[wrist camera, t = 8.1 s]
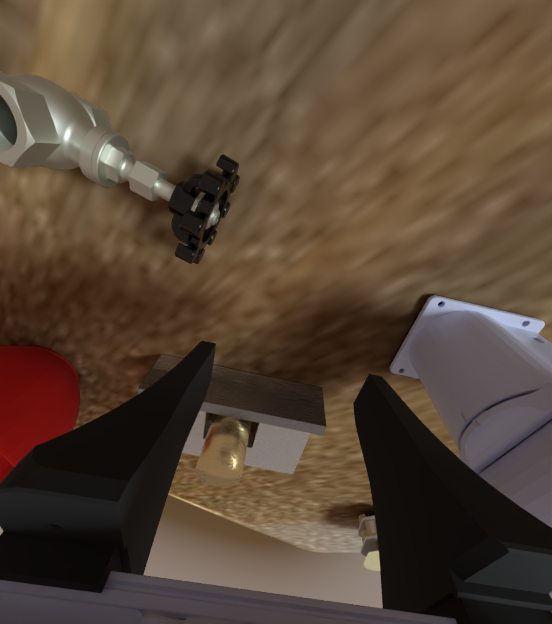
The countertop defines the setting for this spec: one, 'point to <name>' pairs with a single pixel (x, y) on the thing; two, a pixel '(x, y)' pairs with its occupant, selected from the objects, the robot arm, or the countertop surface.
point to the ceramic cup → (34, 401)
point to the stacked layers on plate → (369, 542)
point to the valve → (105, 156)
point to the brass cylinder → (224, 451)
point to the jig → (255, 413)
